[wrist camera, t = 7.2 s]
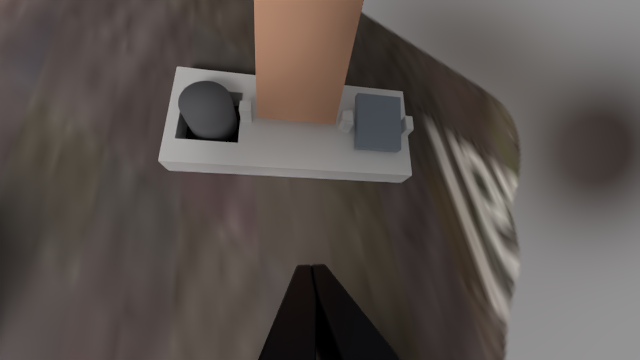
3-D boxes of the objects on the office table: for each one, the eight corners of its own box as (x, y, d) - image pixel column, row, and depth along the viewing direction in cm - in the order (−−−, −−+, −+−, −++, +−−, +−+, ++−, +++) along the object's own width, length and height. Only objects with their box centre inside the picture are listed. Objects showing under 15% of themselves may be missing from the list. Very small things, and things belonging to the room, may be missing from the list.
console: (400, 182, 24) (422, 168, 20) (168, 170, 21) (148, 151, 17) (393, 104, 26) (411, 79, 23) (184, 82, 23) (169, 51, 20)
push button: (235, 145, 21) (229, 127, 19) (187, 142, 21) (174, 122, 18) (239, 106, 23) (234, 83, 20) (193, 102, 22) (182, 78, 19)
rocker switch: (396, 152, 22) (401, 150, 21) (354, 149, 21) (357, 146, 21) (396, 101, 23) (400, 97, 22) (354, 97, 22) (357, 92, 21)
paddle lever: (335, 124, 21) (375, -50, 13) (256, 117, 20) (252, -74, 12) (333, 115, 22) (370, -53, 14) (258, 108, 21) (254, -76, 13)
